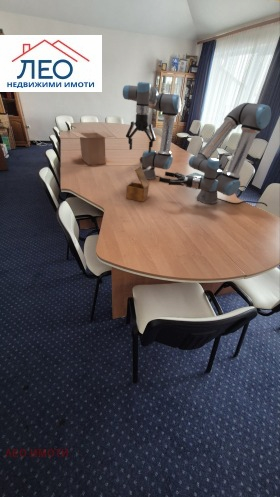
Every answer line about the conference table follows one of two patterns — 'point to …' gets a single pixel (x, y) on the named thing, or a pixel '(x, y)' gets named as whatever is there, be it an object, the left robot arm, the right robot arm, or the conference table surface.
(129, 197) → the chest
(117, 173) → the conference table surface
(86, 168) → the conference table surface
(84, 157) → the box
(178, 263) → the conference table surface
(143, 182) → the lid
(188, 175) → the book
